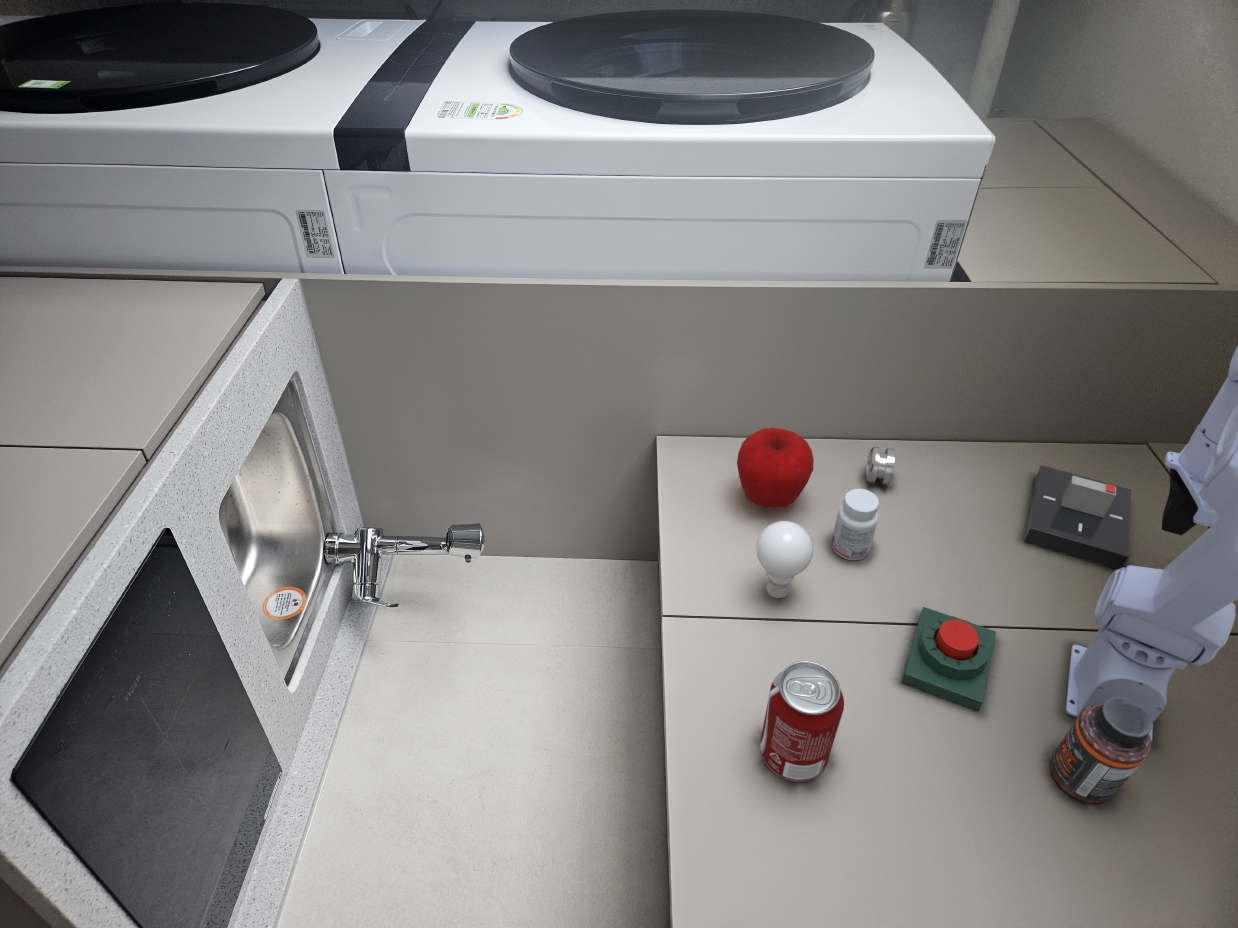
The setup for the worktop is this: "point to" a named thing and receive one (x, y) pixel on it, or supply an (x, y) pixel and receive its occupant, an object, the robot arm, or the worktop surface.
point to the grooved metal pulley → (880, 465)
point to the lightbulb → (783, 554)
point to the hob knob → (1088, 496)
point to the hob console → (1078, 522)
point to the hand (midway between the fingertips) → (1171, 528)
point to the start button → (957, 639)
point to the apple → (774, 467)
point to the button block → (948, 663)
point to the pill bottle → (855, 524)
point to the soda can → (801, 721)
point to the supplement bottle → (1102, 749)
